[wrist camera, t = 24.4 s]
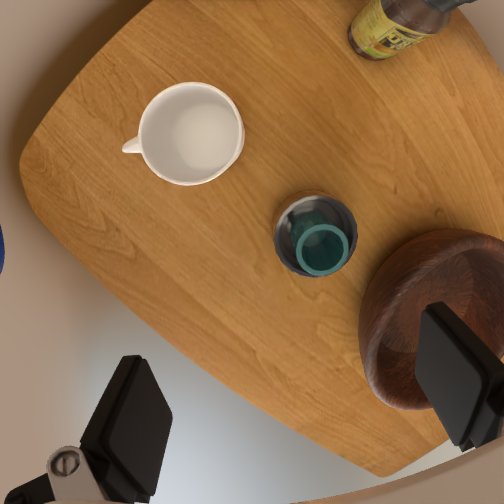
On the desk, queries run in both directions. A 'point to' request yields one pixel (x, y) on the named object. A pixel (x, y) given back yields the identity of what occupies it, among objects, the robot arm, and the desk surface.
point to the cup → (317, 241)
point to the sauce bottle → (398, 25)
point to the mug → (189, 134)
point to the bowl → (324, 204)
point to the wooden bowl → (421, 294)
